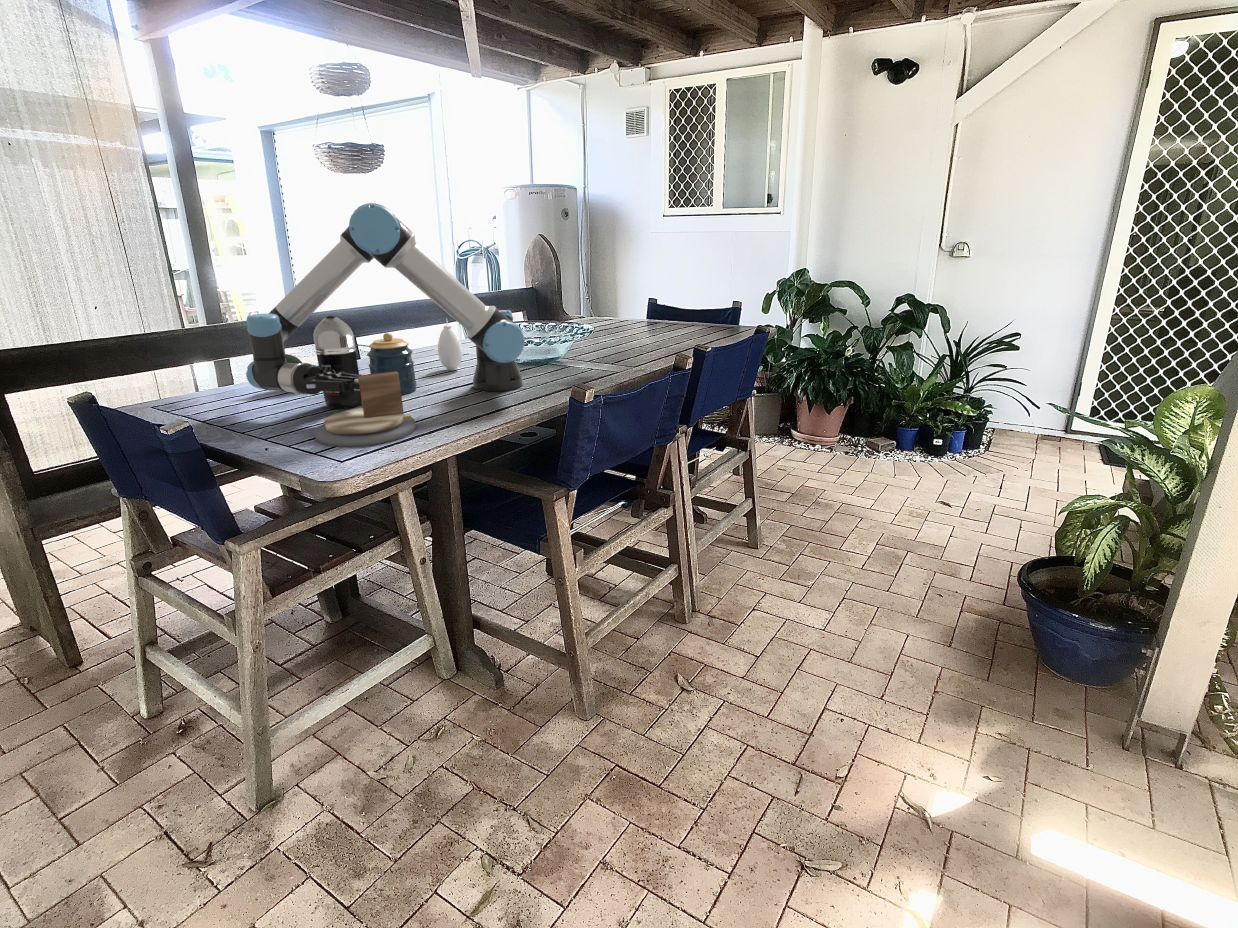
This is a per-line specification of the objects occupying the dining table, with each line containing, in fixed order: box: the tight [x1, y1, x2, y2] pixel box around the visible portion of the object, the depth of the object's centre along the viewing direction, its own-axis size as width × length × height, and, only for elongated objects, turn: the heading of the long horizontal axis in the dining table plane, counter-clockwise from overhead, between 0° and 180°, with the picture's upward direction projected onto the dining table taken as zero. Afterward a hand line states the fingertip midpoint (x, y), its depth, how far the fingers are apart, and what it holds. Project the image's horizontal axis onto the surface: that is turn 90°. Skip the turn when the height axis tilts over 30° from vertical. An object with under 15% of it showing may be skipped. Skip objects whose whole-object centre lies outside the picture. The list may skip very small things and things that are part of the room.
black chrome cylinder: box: [312, 314, 362, 410], centre depth 177 cm, size 10×10×25 cm
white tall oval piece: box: [437, 317, 463, 372], centre depth 221 cm, size 8×8×18 cm
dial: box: [323, 371, 405, 434], centre depth 155 cm, size 18×18×12 cm
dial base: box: [314, 414, 417, 448], centre depth 157 cm, size 23×23×2 cm
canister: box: [366, 332, 417, 395], centre depth 194 cm, size 13×13×18 cm
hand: (379, 386), depth 158 cm, fingers closed
